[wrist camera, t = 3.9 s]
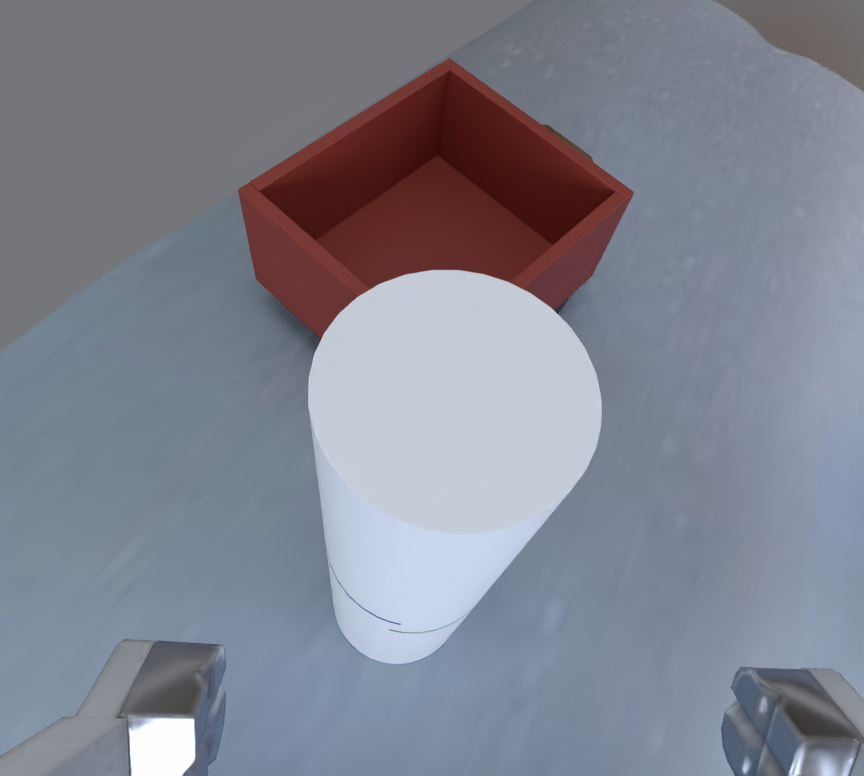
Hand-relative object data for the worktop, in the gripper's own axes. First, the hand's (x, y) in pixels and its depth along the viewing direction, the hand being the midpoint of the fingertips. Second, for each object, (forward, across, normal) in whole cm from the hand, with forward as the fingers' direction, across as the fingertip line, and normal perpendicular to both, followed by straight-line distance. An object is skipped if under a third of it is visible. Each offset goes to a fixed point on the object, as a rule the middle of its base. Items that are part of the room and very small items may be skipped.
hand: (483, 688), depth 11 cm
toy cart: (+40, -3, 0) cm, 40 cm away
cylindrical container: (+25, 0, +15) cm, 29 cm away
